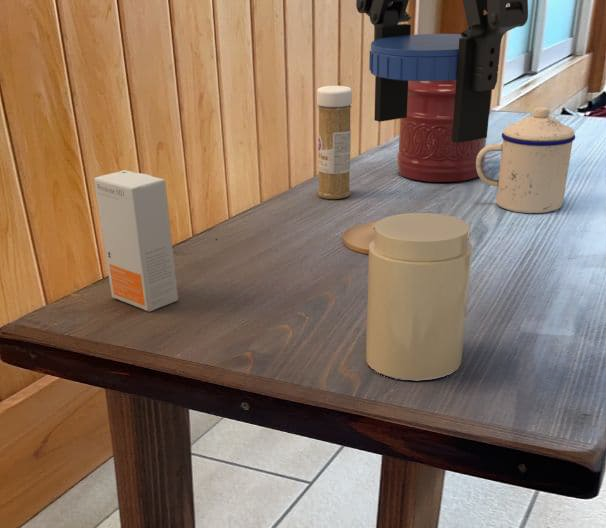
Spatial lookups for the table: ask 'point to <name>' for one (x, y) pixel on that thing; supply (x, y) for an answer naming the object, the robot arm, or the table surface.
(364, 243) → the coaster
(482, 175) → the teacup with lid
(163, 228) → the cosmetic box
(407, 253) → the jar
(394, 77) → the lid
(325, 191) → the brown spice bottle
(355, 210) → the table surface
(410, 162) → the kitchen canister
